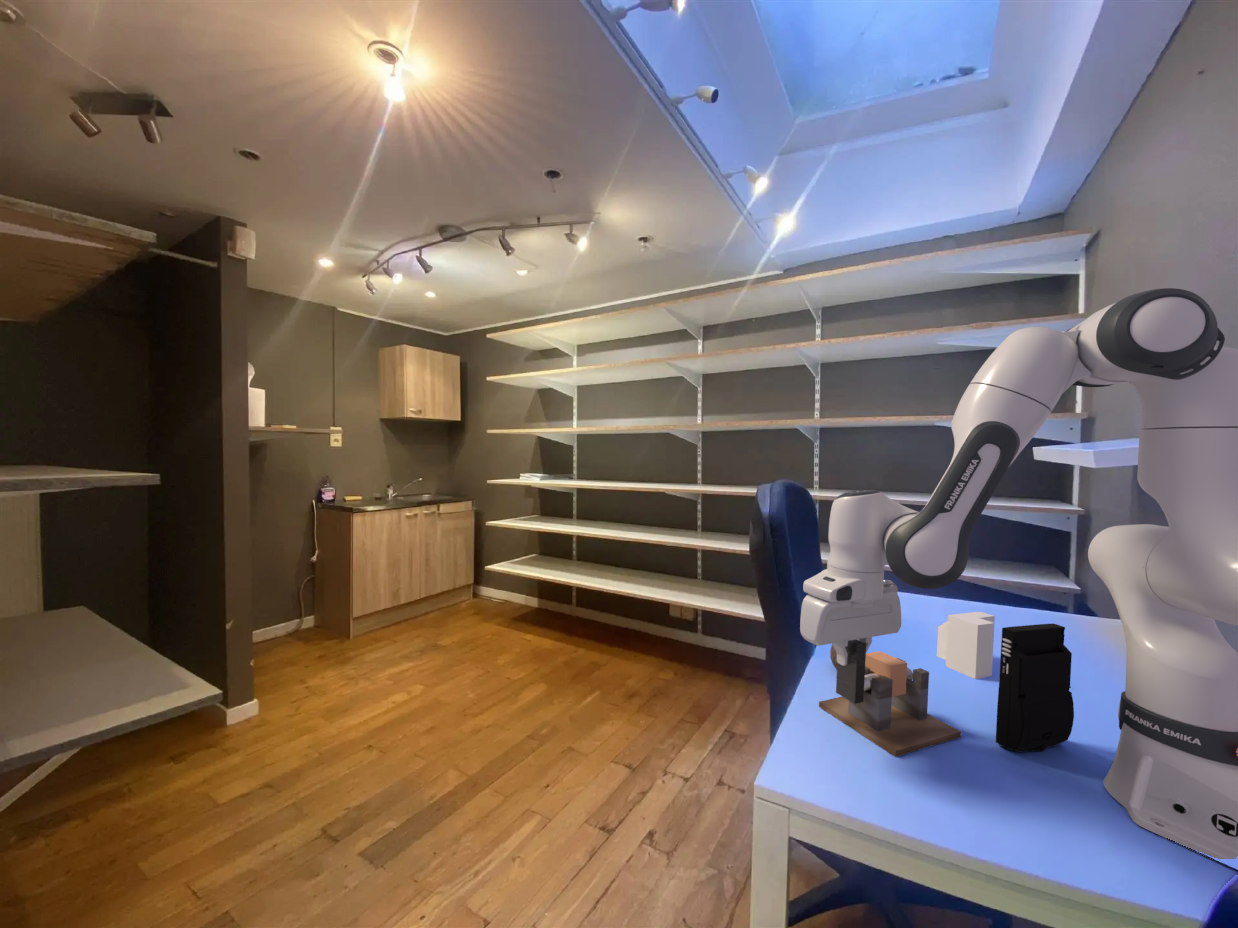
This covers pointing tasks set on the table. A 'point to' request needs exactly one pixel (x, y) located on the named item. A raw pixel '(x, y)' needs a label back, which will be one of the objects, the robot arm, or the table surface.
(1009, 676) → the handheld gaming console
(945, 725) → the shaft stand
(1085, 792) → the table surface
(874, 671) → the block
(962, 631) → the corner bracket
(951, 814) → the table surface
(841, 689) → the shaft
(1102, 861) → the table surface
